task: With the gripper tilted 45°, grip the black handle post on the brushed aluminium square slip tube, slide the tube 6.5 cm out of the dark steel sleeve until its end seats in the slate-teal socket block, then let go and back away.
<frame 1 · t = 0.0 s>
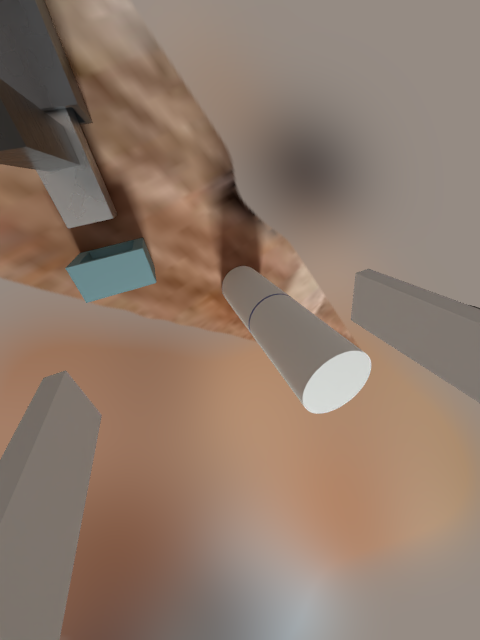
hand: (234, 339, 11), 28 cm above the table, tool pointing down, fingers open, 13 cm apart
socket block: (119, 260, 33), on the table
steel sleeve: (26, 60, 22), on the table
cylindrical container: (241, 285, 41), on the table
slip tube: (16, 99, 17), point 10 cm above the table, slide at 0.0 cm
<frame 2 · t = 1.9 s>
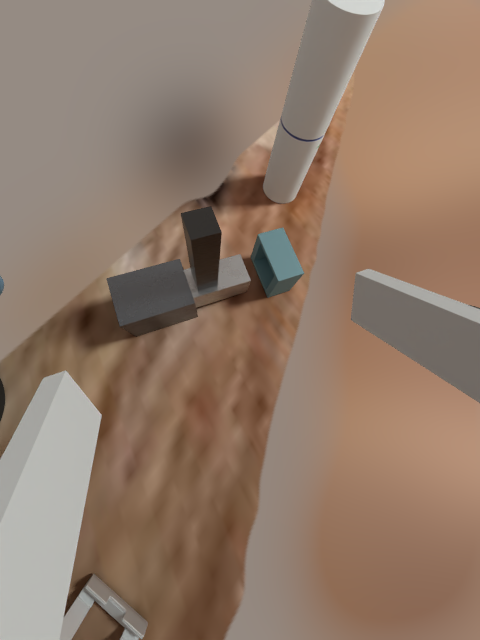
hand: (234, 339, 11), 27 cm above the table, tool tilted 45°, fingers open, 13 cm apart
socket block: (269, 273, 42), on the table
steel sleeve: (161, 306, 38), on the table
cylindrical container: (279, 189, 48), on the table
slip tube: (185, 271, 30), point 10 cm above the table, slide at 0.0 cm
portable electronic device stand: (99, 626, 28), on the table
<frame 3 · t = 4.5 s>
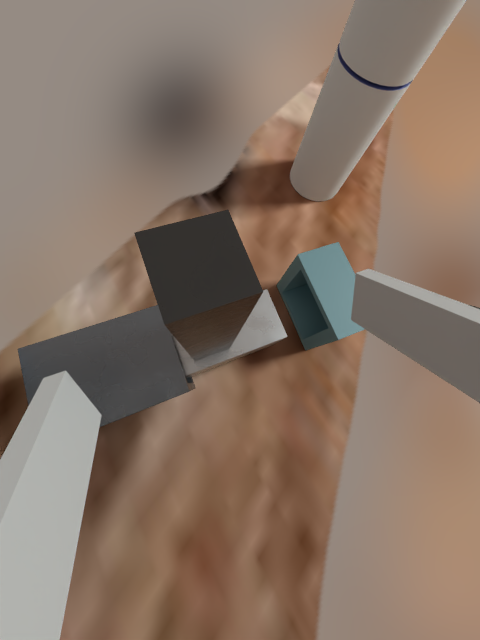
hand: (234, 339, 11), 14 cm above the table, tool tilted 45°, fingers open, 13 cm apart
socket block: (306, 310, 27), on the table
steel sleeve: (135, 373, 23), on the table
cylindrical container: (314, 180, 32), on the table
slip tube: (167, 339, 15), point 10 cm above the table, slide at 0.0 cm
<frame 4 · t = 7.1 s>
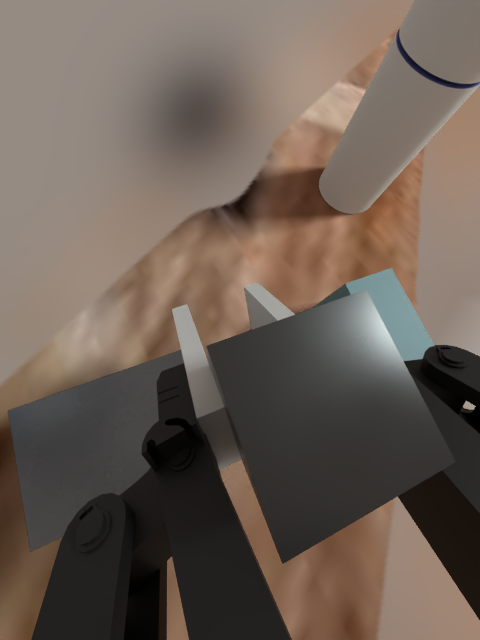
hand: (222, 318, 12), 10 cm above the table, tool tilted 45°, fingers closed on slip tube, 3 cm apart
socket block: (343, 340, 24), on the table
steel sleeve: (149, 418, 20), on the table
cylindrical container: (345, 190, 29), on the table
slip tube: (200, 407, 11), point 10 cm above the table, slide at 0.0 cm, touching gripper
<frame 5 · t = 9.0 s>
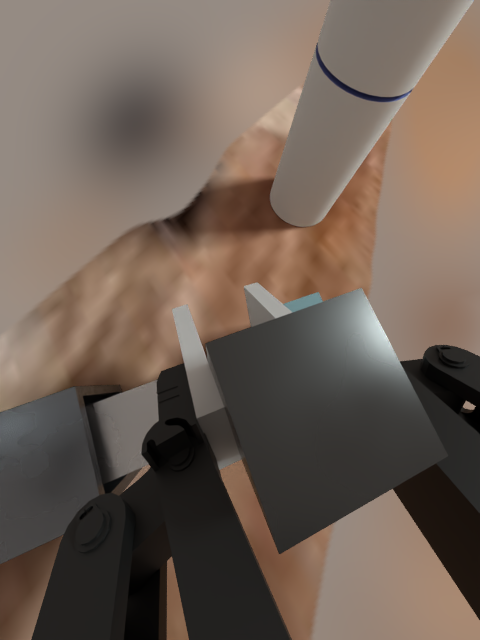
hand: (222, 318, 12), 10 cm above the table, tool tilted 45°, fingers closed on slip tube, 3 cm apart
socket block: (285, 363, 23), on the table
steel sleeve: (66, 450, 19), on the table
cylindrical container: (298, 202, 28), on the table
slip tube: (199, 406, 11), point 10 cm above the table, slide at 6.5 cm, touching gripper
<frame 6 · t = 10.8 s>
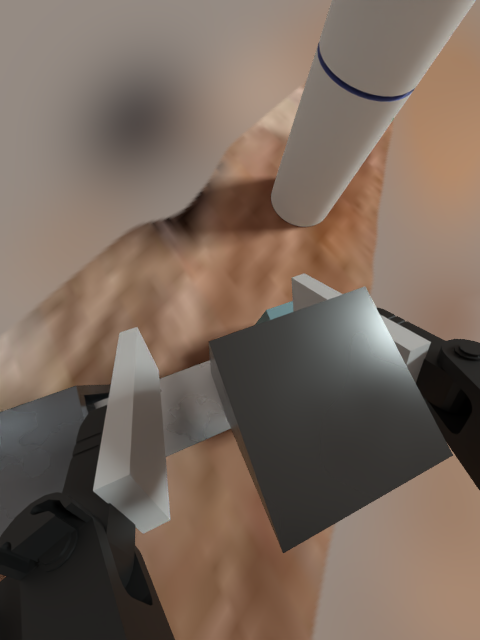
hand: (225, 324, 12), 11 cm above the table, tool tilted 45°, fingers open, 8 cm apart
socket block: (286, 363, 23), on the table
steel sleeve: (67, 450, 19), on the table
cylindrical container: (299, 201, 28), on the table
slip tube: (201, 405, 11), point 10 cm above the table, slide at 6.6 cm
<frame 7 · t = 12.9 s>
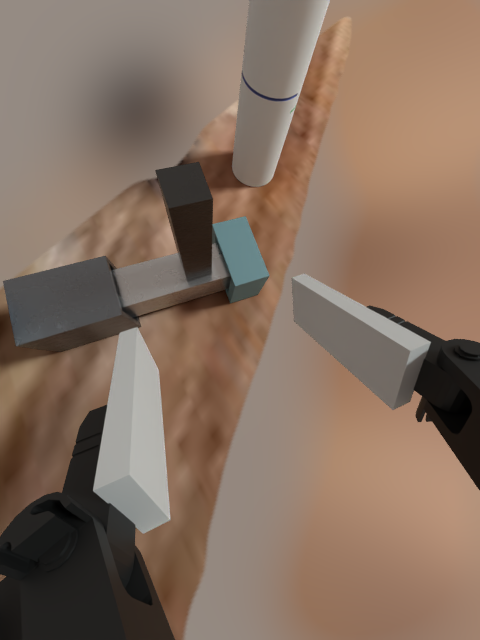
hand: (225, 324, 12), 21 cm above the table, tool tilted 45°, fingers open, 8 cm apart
socket block: (234, 273, 35), on the table
steel sleeve: (95, 314, 31), on the table
cylindrical container: (253, 169, 39), on the table
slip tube: (169, 256, 24), point 10 cm above the table, slide at 6.6 cm
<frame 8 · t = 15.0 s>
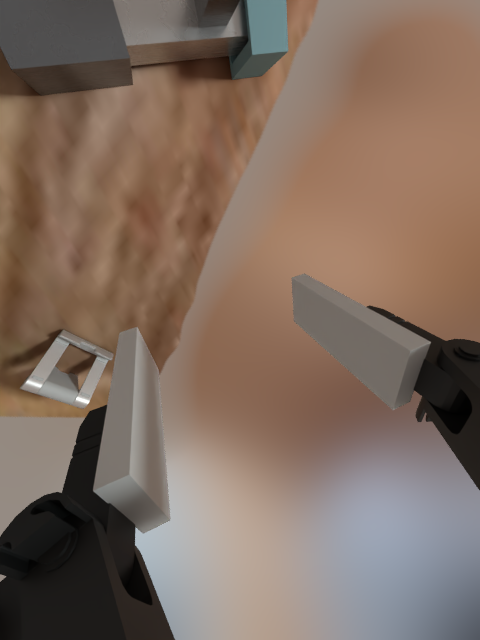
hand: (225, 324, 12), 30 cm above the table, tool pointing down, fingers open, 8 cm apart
socket block: (242, 31, 29), on the table
steel sleeve: (71, 45, 25), on the table
portable electronic device stand: (77, 355, 41), on the table
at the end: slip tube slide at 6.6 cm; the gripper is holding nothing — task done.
